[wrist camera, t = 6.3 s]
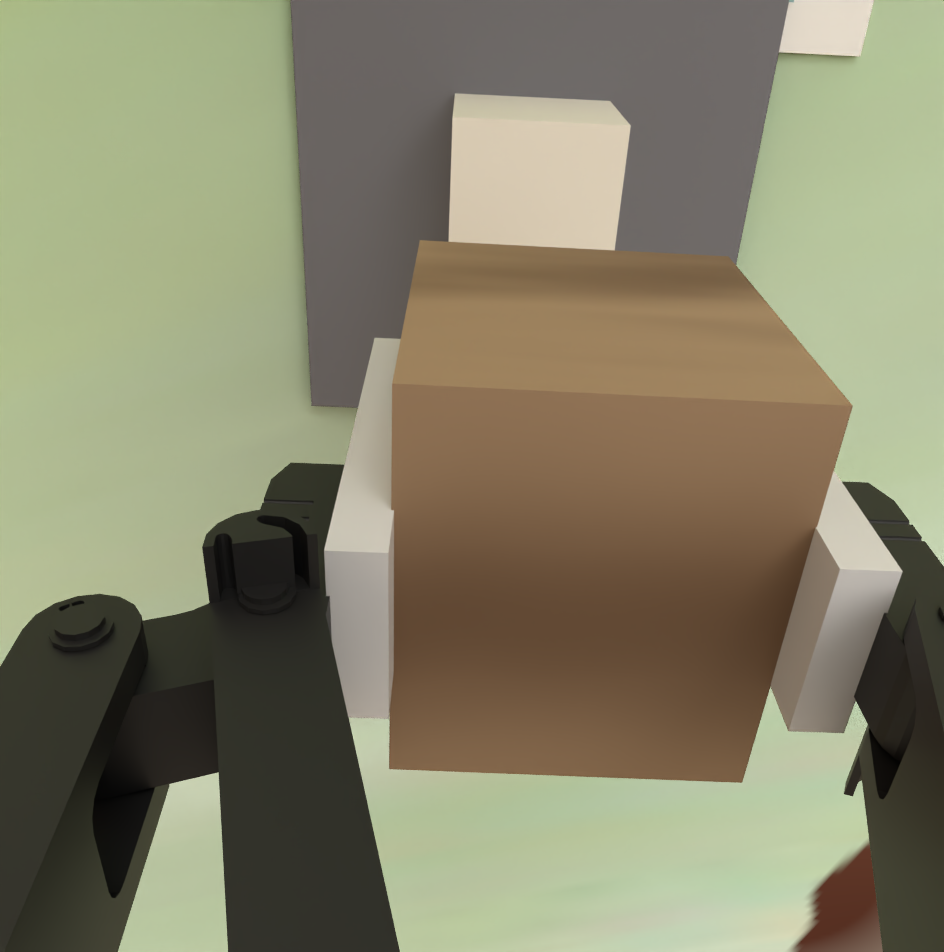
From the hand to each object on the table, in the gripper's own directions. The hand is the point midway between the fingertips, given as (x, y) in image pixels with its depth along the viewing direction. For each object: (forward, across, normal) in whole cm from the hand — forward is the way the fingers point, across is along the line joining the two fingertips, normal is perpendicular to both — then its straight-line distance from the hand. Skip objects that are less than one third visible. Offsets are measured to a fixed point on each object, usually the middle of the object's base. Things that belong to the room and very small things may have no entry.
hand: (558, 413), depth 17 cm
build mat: (+14, 0, 0) cm, 14 cm away
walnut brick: (0, 0, 0) cm, 0 cm away
